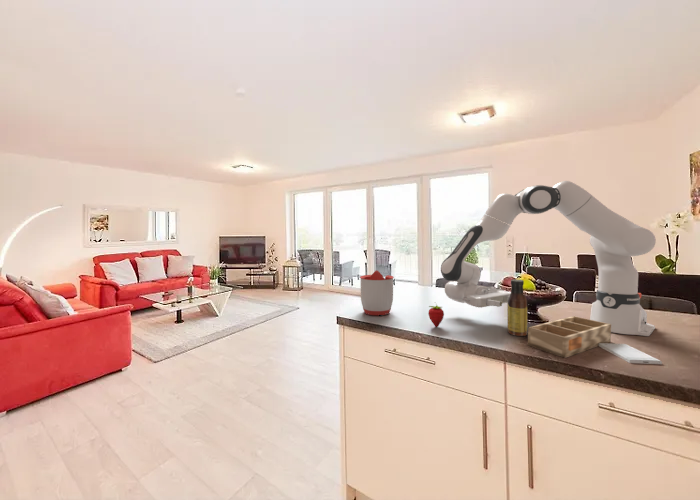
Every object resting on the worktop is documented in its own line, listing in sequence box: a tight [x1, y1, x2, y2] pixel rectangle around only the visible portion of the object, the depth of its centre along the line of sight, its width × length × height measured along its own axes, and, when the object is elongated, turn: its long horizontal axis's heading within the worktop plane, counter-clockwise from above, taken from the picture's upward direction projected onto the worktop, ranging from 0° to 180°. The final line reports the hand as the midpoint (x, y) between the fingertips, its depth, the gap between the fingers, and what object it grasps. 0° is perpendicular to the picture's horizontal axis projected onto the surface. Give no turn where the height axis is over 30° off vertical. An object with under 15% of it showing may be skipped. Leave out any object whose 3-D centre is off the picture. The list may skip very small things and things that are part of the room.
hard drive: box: [597, 342, 663, 365], centre depth 89 cm, size 2×8×12 cm
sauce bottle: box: [507, 279, 528, 337], centre depth 107 cm, size 7×6×20 cm
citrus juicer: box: [359, 270, 394, 316], centre depth 138 cm, size 16×17×20 cm
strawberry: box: [428, 303, 445, 328], centre depth 116 cm, size 6×8×10 cm
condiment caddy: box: [527, 315, 612, 359], centre depth 97 cm, size 27×12×6 cm, turn 117°
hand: (509, 302), depth 110 cm, fingers open, 8 cm apart
